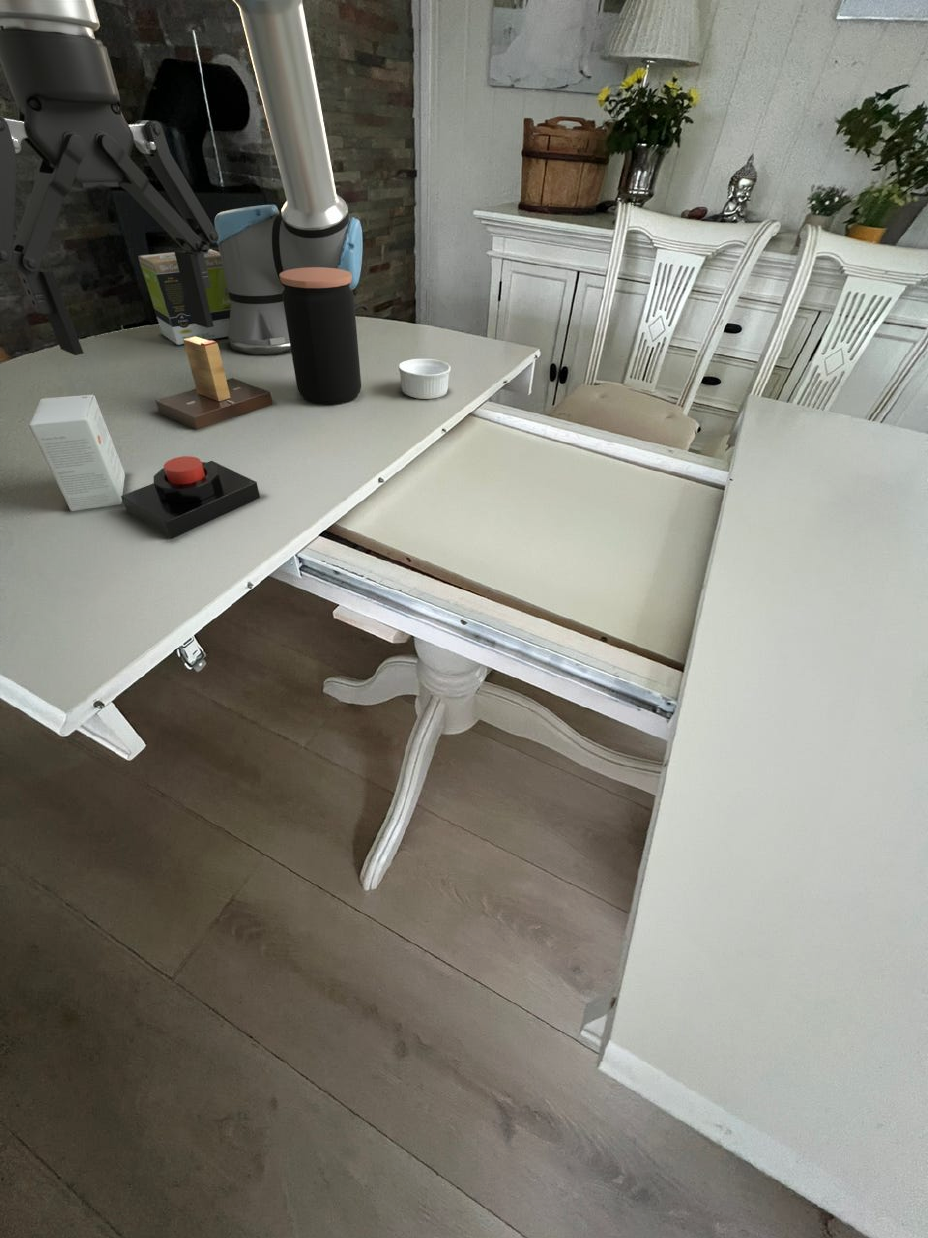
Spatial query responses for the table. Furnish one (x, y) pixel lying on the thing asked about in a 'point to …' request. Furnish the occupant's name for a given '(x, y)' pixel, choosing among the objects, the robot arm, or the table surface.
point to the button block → (190, 499)
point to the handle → (207, 368)
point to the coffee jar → (322, 334)
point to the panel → (213, 405)
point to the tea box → (173, 302)
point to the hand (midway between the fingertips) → (142, 337)
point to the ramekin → (424, 378)
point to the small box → (79, 451)
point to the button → (184, 470)
